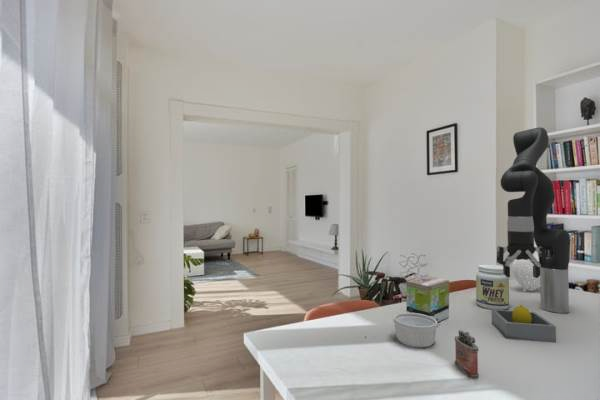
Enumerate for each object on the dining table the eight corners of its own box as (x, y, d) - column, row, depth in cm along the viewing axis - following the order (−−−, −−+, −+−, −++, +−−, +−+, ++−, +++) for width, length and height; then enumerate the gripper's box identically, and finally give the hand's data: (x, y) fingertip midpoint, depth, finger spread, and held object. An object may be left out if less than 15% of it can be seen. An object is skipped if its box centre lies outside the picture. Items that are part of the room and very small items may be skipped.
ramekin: (436, 335, 109) (435, 314, 109) (439, 352, 97) (438, 329, 97) (394, 330, 114) (394, 310, 114) (392, 346, 101) (392, 323, 101)
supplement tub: (477, 308, 136) (477, 268, 137) (474, 300, 148) (474, 263, 148) (512, 312, 132) (511, 270, 132) (506, 303, 143) (505, 264, 143)
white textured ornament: (526, 295, 156) (525, 259, 156) (506, 289, 166) (505, 255, 166) (553, 291, 161) (552, 257, 161) (532, 286, 171) (531, 254, 172)
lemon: (527, 326, 114) (526, 303, 114) (535, 332, 108) (534, 308, 108) (509, 325, 115) (509, 302, 115) (516, 331, 109) (516, 307, 109)
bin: (491, 323, 120) (491, 309, 120) (535, 326, 117) (535, 312, 117) (506, 338, 106) (506, 323, 106) (556, 342, 103) (555, 326, 103)
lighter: (451, 363, 90) (451, 327, 90) (463, 362, 90) (463, 326, 90) (469, 379, 82) (468, 339, 82) (482, 378, 82) (481, 338, 82)
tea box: (431, 327, 116) (430, 285, 116) (405, 320, 124) (405, 280, 124) (450, 317, 126) (449, 279, 126) (425, 311, 134) (425, 275, 134)
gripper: (538, 228, 114) (539, 275, 114) (493, 228, 117) (494, 274, 117) (549, 230, 106) (551, 280, 106) (501, 230, 110) (502, 279, 109)
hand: (521, 277), depth 112 cm, fingers open, 8 cm apart
